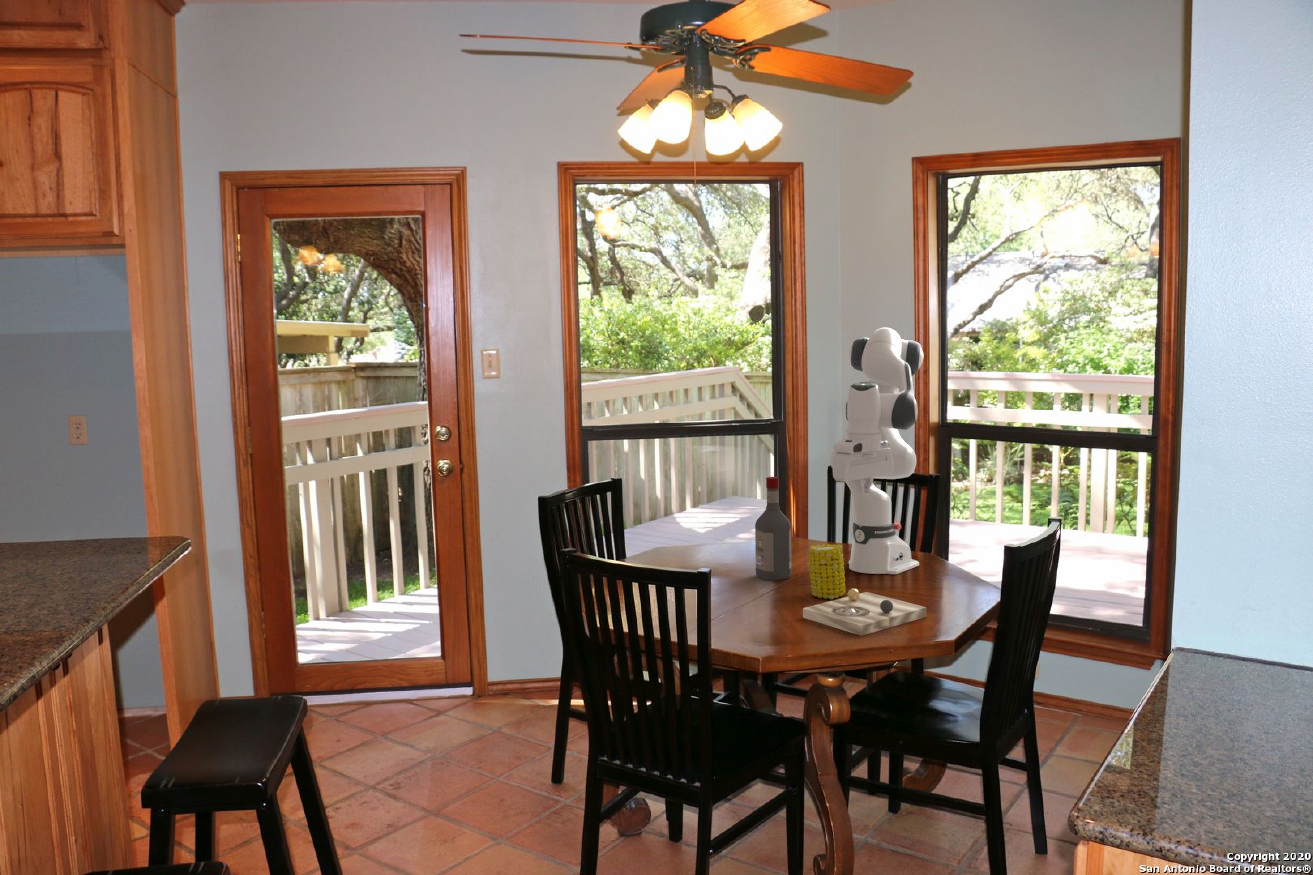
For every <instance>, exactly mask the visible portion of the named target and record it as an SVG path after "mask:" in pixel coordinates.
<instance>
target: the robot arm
mask: <svg viewBox="0 0 1313 875" xmlns="http://www.w3.org/2000/svg"><path fill="white" fill-rule="evenodd" d="M923 361H924V352H923V349H922V345H921V344H920V343H919V342H917V341H915V340H912V339H911V340H910V339H909V340H905V339H901V336H900V334H899V333H898V332H897V331H896V330H894V329H892V328H890V327H881V328H877V329H876V330H874V331H873V332H872V333H871V335H870V336H869V337H867V336H864V337H859V338H856V339H855V340H854V341H853V342H852V345H851V346H850V349H849V362H850V365H851V366H852V368H853V369H854V370H857V371H860V372H863V374H864V375H865V376H866V377H867V378H868V379H869V380H868V381H859V382H854V383H853V384H851V385H850V386H849V389H848V393H847V394H848V396H847V401H846V404H845V419H846V421H848V426H847V430H846V436H845V437H843V438H842V439H840V440H838V441H837V442H835V443H834V444H833V448H832V450H831V452H830V459H829V460H830V463H829V464H830V465H831V468H832V478H833V479H834V480H835V481H837V482H845V483H846V485H847V486H848V488H849V490H850V493H851V496H852V501H853V514H854V517H853V519H854V522H853V523H852V535H853V539H852V542H851V549H850V550H851V552H850V559H849V560H848V565H849V566H848V569H849V570H851V571H853V572H856V573H861V574H873V575H875V574H876V575H881V574H883V575H885V574H886V575H887V574H888V575H899V574H900V573H901V574H902V573H903V572H905V571H908V570H911V569H913V568H916V567H919V566H920V562H919V561H918V560H916V559H912V551H911V547H910V546H909V544H908V543H906V541H904V540H903V539H901V538H900V537H899V535H897V534H896V530H897V531H900V530H901V529H902V524H901V523H899V522H898V523H897V522H894V523H892V499H891V497H890V496H889V495H888V494H887V493H886V491H883V490H881V489H879V488H878V487H877V486H876V485H875V484H874V479H881V480H883V479H884V480H885V479H886V480H896V479H904V478H909V477H910V476H911V475H912V474H913V473H914V471H915V469H916V468H917V455H916V453H915V451H914V449H913V448H912V447H911V446H910V445H909V444H908V443H907V442H906V441H905V440H904V439H903V438H902V437H901V434H900V431H899V430H904V431H905V430H908V429H910V428H911V427H912V426H914V424H916V422H917V420H918V414H919V410H918V409H919V407H918V402H917V401H916V399H915V389H914V381H913V376H915V375H916V374H917V373H918V372H919V371H920V369H921V367H922V365H923Z"/></svg>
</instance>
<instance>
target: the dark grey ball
mask: <svg viewBox="0 0 1313 875" xmlns="http://www.w3.org/2000/svg"><path fill="white" fill-rule="evenodd" d="M880 608H881V610H882V611H883V612H885V613H889V612H891V611H892V609H893V604H892V602H891V601H889V600H884V601H882V602H881V604H880Z"/></svg>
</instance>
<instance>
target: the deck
mask: <svg viewBox="0 0 1313 875" xmlns="http://www.w3.org/2000/svg"><path fill="white" fill-rule="evenodd" d="M859 593H860V592H859ZM884 600H889V601H891V602H892V604H893V609H892V611H891V612H889V613H885V612H883V611H882V610H881V608H880V604H881V602H882V601H884ZM847 609H853V610H855V611H856V613H857V614H846V613H845V611H846V610H847ZM802 617H803V618H802V619H805V620H809V621H813V622H815V623H819V624H822V625H826V626H829V627H832V628H834V629H835V628H836V629H839V630H841V631H845V632H849V633H851V634H854V635H858V636H864V635H869V634H873V633H876V632H879V631H882V630H886V629H890V628H894V627H896V626H899V625H903V624H907V623H910V622H914V621H917V620H920V619H924V618H927V607H925V606H923V605H919V604H915V603H910V602H907V601H903V600H900V599H895V598H892V597H890V596H889V597H888V596H885V595H880V594H877V593H872V592H869V591H865V592H861V593H860V596H859V598H858V599H857V600H855V601H852V600H850V599H849V598H848V596H844V597H842V598H836V599H832V600H830V601H825V602H822V603H818V604H815V605H814V604H813V605H810V606H806V607H803V608H802Z"/></svg>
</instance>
